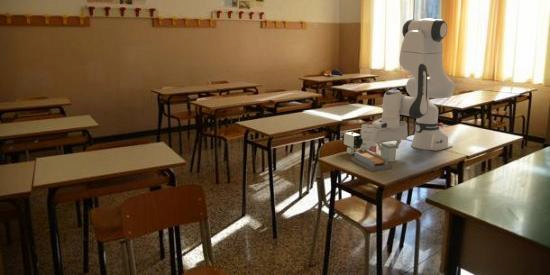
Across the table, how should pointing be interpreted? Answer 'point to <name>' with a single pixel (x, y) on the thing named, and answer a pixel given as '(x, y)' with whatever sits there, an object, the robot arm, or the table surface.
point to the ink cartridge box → (367, 138)
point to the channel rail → (370, 161)
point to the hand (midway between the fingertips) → (388, 149)
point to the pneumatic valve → (352, 141)
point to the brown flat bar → (373, 158)
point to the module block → (388, 151)
